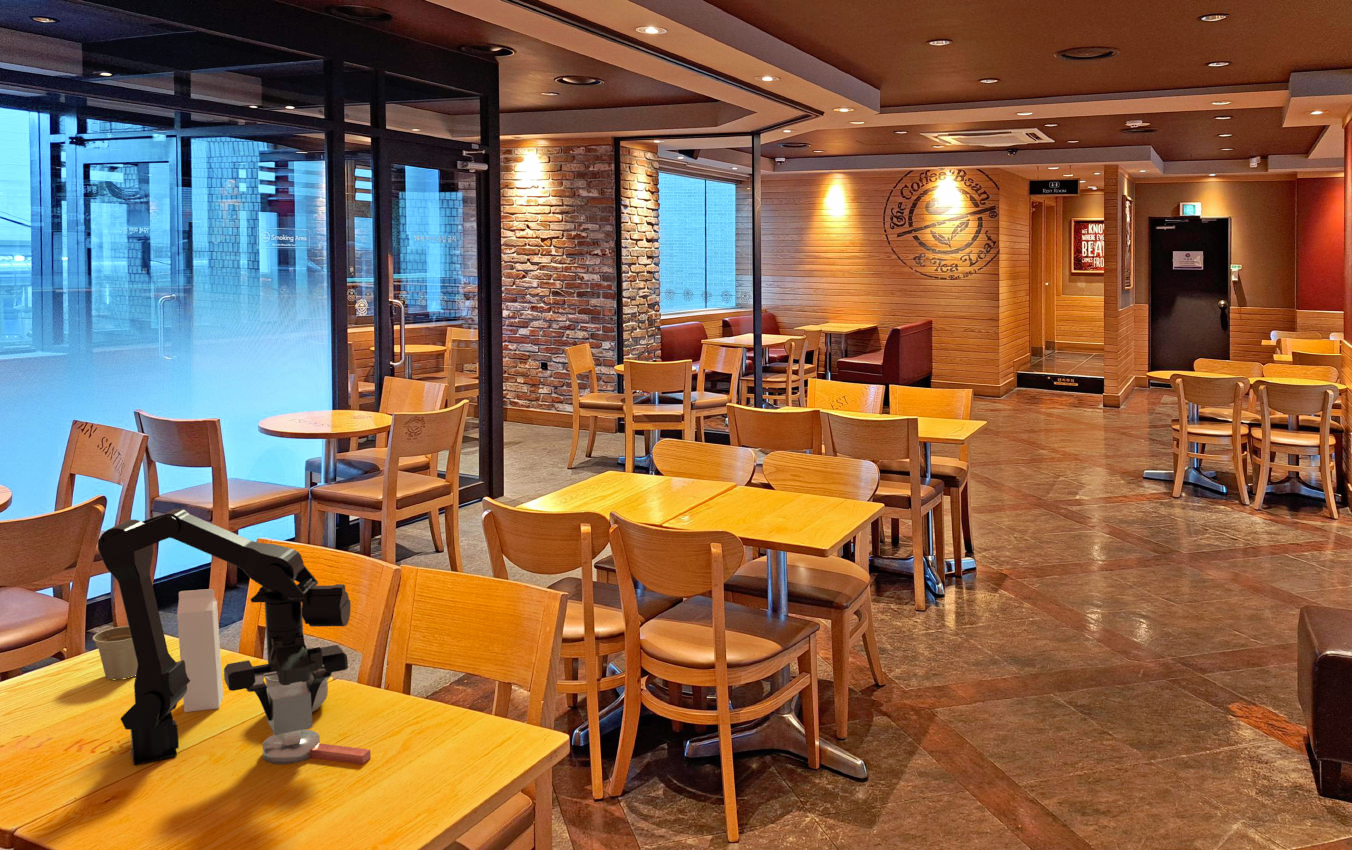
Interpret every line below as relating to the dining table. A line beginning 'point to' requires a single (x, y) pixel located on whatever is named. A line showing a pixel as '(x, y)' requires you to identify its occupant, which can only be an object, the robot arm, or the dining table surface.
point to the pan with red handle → (308, 749)
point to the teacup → (322, 690)
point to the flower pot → (117, 652)
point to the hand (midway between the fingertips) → (289, 715)
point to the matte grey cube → (290, 708)
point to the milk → (200, 649)
